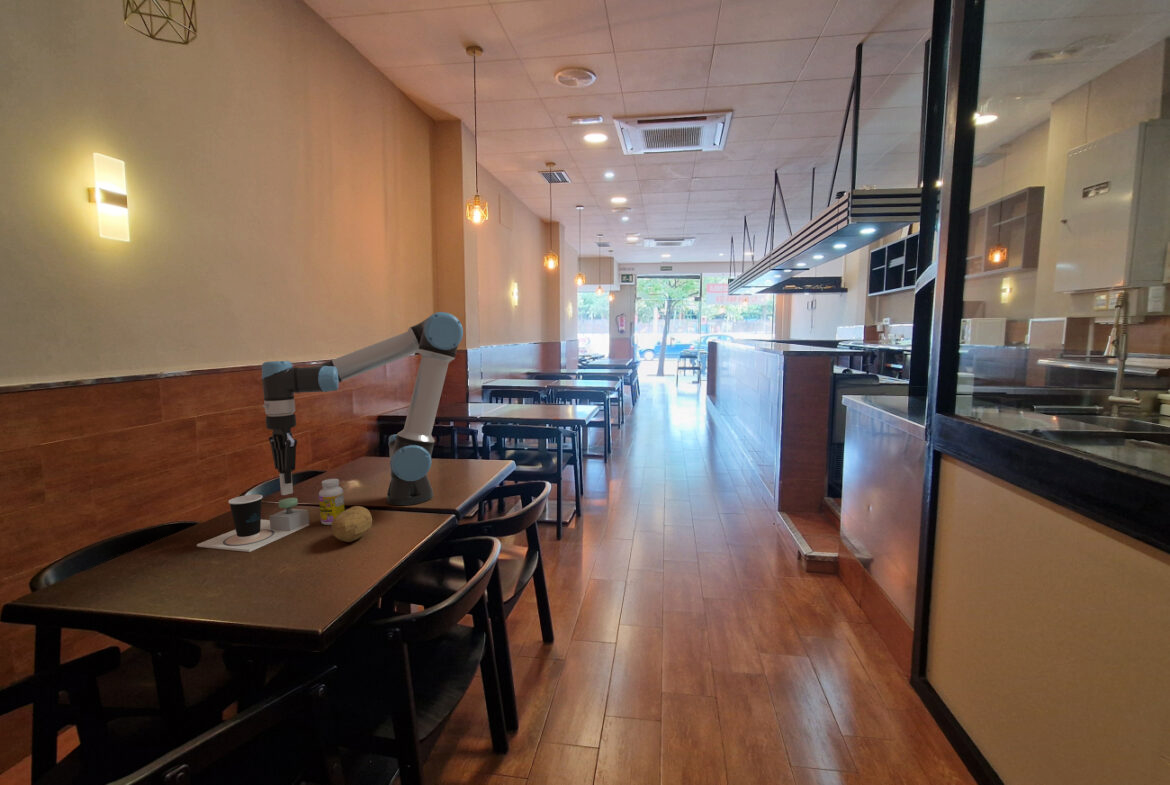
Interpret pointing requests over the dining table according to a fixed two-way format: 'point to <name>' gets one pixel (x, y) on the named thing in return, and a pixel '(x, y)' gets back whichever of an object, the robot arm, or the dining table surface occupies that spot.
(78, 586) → the dining table surface
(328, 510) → the supplement bottle
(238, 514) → the dixie cup
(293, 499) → the button
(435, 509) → the dining table surface
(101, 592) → the dining table surface
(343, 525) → the potato
